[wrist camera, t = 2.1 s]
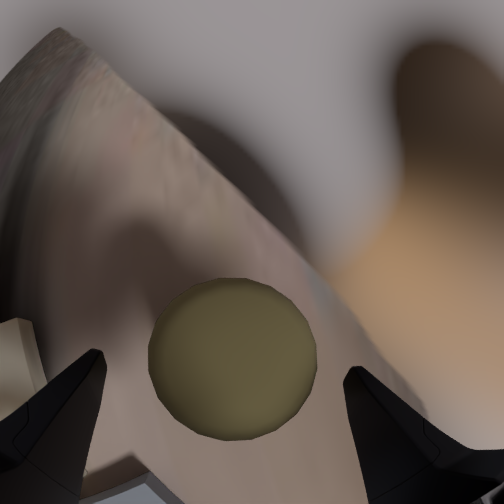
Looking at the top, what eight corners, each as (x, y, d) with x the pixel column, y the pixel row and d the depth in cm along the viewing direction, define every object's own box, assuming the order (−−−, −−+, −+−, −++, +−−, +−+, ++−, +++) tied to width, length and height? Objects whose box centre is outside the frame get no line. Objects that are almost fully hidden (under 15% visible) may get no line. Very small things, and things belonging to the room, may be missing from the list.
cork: (284, 352, 17) (383, 348, 7) (221, 417, 15) (245, 502, 5) (218, 289, 18) (235, 207, 8) (153, 352, 16) (77, 353, 6)
